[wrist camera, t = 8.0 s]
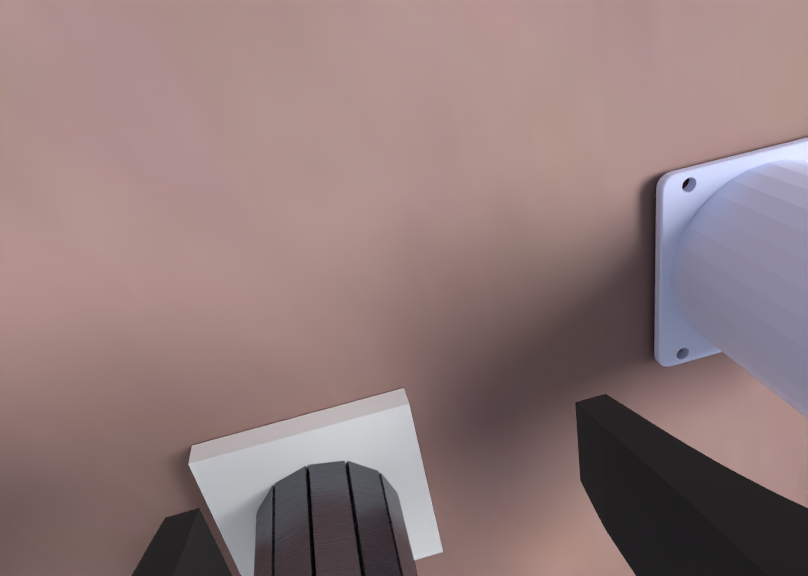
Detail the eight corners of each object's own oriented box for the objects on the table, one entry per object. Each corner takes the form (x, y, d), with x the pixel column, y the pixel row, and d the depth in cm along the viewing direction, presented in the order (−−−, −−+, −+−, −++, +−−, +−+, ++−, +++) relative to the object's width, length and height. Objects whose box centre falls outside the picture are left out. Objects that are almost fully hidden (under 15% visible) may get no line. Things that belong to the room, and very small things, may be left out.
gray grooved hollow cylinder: (398, 454, 22) (428, 565, 18) (397, 556, 25) (423, 676, 20) (251, 471, 21) (244, 593, 17) (263, 575, 24) (260, 707, 19)
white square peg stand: (404, 388, 22) (434, 482, 18) (437, 533, 26) (470, 642, 21) (192, 445, 22) (169, 559, 17) (256, 586, 25) (252, 710, 21)
